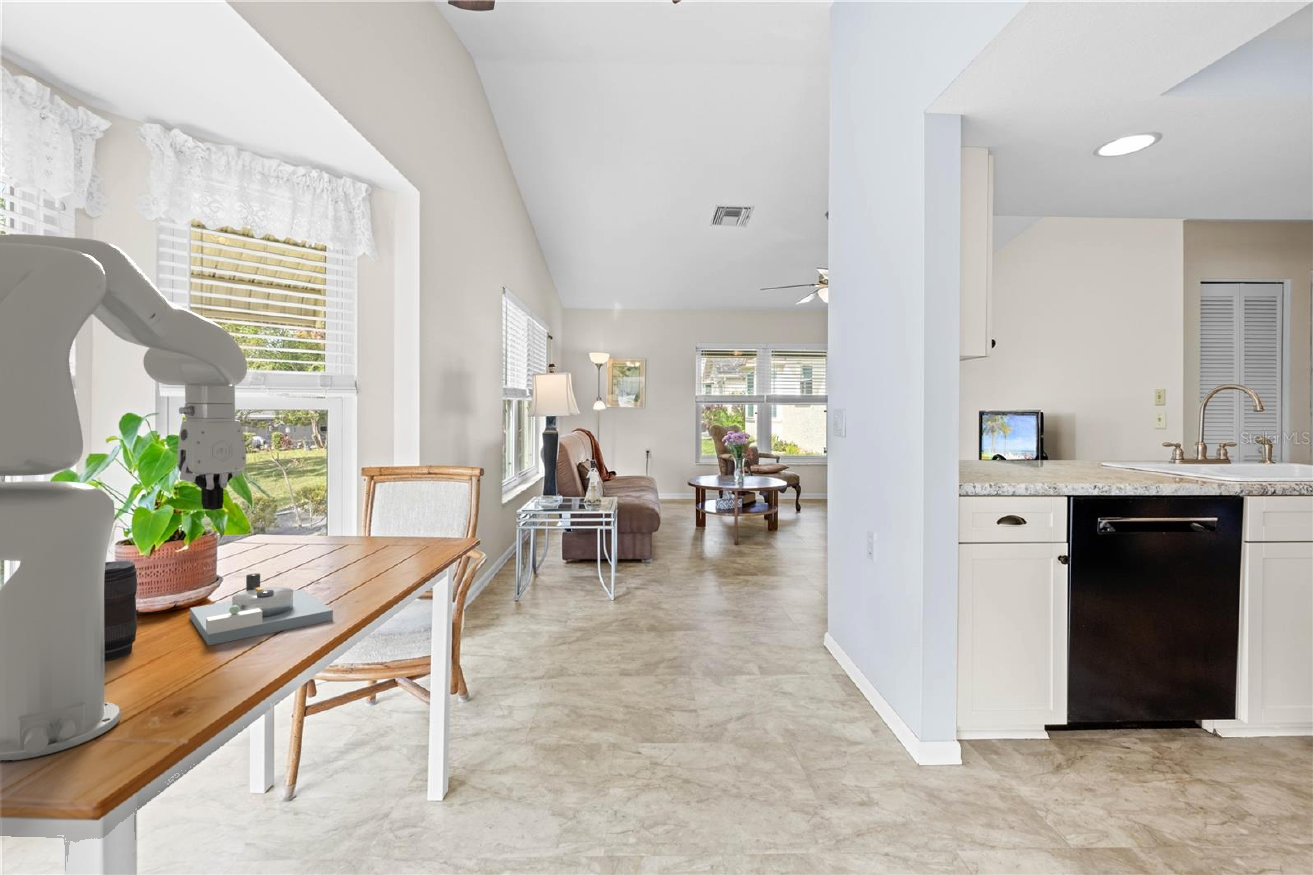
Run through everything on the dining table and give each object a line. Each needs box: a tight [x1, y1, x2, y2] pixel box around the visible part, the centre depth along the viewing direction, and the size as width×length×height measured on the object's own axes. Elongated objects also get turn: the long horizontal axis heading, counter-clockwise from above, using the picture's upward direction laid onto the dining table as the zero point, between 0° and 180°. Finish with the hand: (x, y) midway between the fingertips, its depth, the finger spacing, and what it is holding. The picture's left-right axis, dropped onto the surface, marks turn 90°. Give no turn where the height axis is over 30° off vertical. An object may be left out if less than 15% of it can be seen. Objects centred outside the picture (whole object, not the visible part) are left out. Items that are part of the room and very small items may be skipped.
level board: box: [189, 589, 334, 646], centre depth 118 cm, size 20×20×6 cm
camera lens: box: [104, 560, 138, 662], centre depth 98 cm, size 8×8×15 cm
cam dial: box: [231, 572, 294, 616], centre depth 118 cm, size 15×10×5 cm
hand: (212, 508), depth 113 cm, fingers closed
